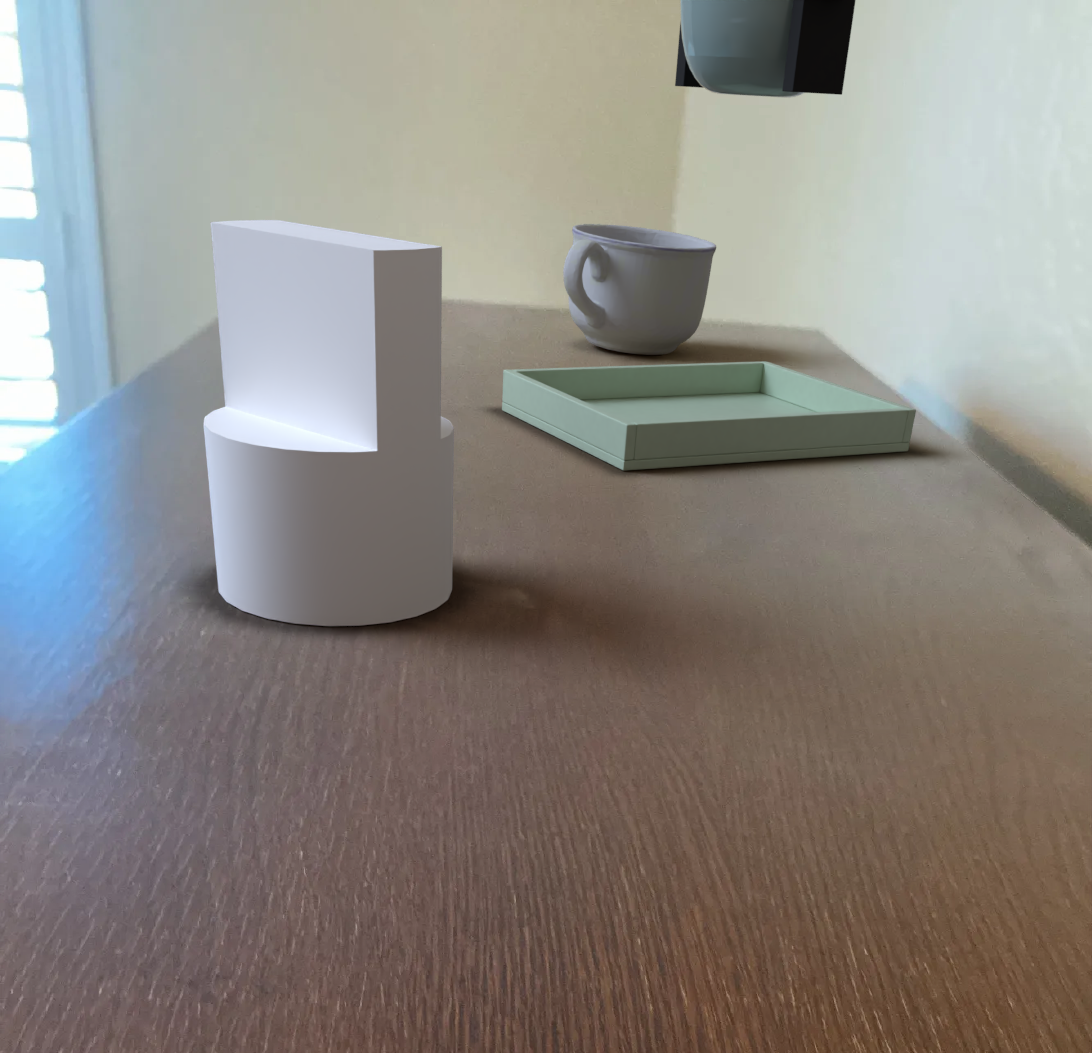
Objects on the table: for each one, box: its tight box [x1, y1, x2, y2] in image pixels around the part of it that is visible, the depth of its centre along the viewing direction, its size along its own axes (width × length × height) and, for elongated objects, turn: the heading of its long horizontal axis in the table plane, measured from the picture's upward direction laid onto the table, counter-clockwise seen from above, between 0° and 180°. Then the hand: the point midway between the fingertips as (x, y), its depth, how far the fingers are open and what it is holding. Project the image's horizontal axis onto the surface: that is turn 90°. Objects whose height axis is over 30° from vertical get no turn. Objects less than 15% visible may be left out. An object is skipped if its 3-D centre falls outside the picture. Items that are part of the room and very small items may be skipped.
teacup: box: [562, 223, 717, 356], centre depth 98 cm, size 14×11×8 cm
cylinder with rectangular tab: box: [203, 219, 455, 627], centre depth 47 cm, size 9×9×12 cm
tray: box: [501, 360, 917, 472], centre depth 77 cm, size 19×15×2 cm
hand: (754, 89), depth 60 cm, fingers closed on cup, 8 cm apart
